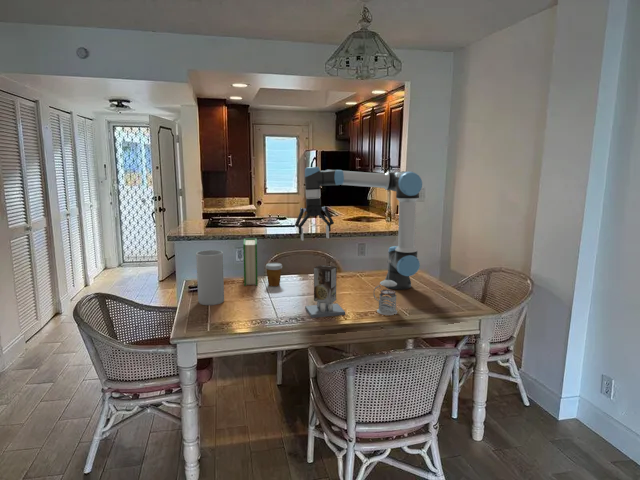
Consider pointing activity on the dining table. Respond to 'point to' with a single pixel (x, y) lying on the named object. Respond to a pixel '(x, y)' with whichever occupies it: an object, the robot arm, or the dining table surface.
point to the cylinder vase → (210, 277)
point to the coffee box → (325, 283)
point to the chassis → (324, 310)
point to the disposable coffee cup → (274, 273)
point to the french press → (387, 298)
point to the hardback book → (250, 261)
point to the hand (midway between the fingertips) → (315, 239)
